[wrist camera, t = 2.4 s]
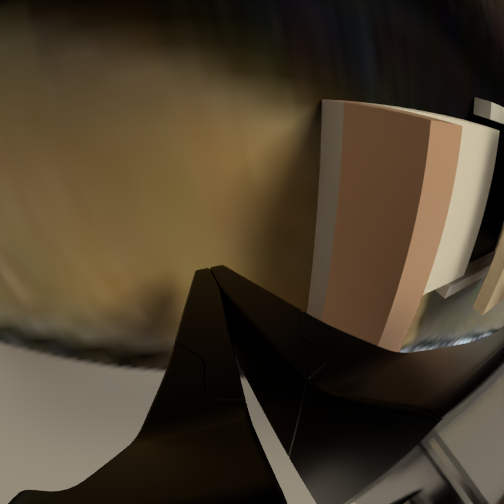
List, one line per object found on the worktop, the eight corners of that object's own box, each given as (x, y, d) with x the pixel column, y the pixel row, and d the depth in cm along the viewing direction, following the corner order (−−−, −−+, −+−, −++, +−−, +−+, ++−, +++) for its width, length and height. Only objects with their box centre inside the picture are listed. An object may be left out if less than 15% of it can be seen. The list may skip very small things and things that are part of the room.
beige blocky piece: (480, 124, 13) (547, 150, 9) (449, 264, 18) (498, 304, 14) (319, 99, 9) (430, 119, 5) (304, 316, 15) (358, 391, 11)
